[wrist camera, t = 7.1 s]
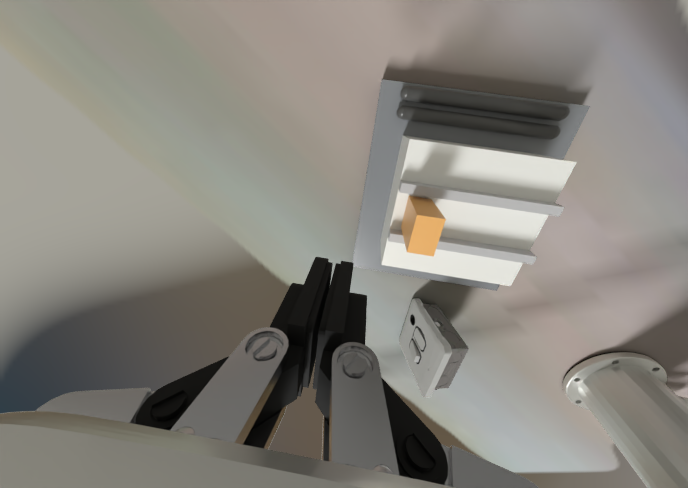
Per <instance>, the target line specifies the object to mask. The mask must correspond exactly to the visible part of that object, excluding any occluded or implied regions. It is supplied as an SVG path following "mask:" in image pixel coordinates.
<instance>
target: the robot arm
mask: <svg viewBox="0 0 688 488" xmlns="http://www.w3.org/2000/svg"><path fill="white" fill-rule="evenodd" d="M353 264H354V263H351V262H345V261H341V264H337V263H336V266H335V270H334V273H333V277H332V281H331V285H330V280H331V272H332V263H330V262H328V259H326V258H320V257H316V258H315V260H314V262H313V264H312V267H311V269H310V271H309V274H308V276H307V279H306V281H305V283H304V285H302V284H296V283H292V284H291V286H290V288H289V290H288V292H287V294H286V296H285V298H284V300H283V302H282V304H281V306H280V308H279V310H278V312H277V314H276V315H275V318H274V319H273V322H272V324H271V326H270V327H268V328H260V329H257V330H255V331H253V332H251V333H249V334H248V335H247V336H246V337H245V338H244V339H243V340H242V342H241V343H240V344H239V346H238V347H237V348H236V349H235V350H234V352H233V353H232V354H231V355H230V356H229V357H227V358H224V359H222V360H220V361H218V362H215V363H213V364H211V365H209V366H207V367H204V368H202V369H200V370H198V371H196V372H194V373H191V374H189V375H187V376H185V377H182V378H180V379H178V380H176V381H174V382H171V383H169V384H167V385H165V386H163V387H162V388H160V389H158V390H157V391H150V388H134V389H115V390H95V391H77V392H72V393H67V394H64V395H61V396H59V397H57V398H54V399H52V400H51V401H49V402H47V403H46V404H44V405H43V406H41V407H40V408H38V409H37V410H36V411H24V412H10V413H2V414H0V488H538V487H537V486H536V485H535V484H534V483H532V482H531V481H529V480H528V479H526V478H524V477H522V476H520V475H518V474H516V473H513V472H511V471H509V470H507V469H504V468H502V467H500V466H498V465H496V464H493V463H491V462H489V461H487V460H484V459H482V458H480V457H478V456H475V455H473V454H471V453H469V452H467V451H464V450H462V449H460V448H457V447H455V446H453V445H452V446H451V447H450V448H449V447H446V446H444V445H442V444H441V443H440V442H439V441H438V439H437V438H436V437H435V435H434V434H433V433H432V432H431V431H430V430H429V429H428V428H427V427H426V426H425V425H424V423H423V422H422V421H421V420H420V419H419V418H418V417H417V416H416V415H415V414H414V413H413V411H412V410H411V409H410V408H409V407H408V406H407V405H406V404H405V403H404V402H403V401H402V400H401V398H400V397H399V396H398V395H397V394H396V393H395V392H394V391H393V390H392V389H391V387H390V386H389V385H388V384H387V383H386V382H385V381H384V380H383V379H382V378H381V373H380V367H379V362H378V359H377V356H376V355H375V354H374V352H373V351H372V350H371V349H370V348H369V347H367V346H365V332H366V306H367V295H362V294H356V293H350V285H351V278H352V271H353ZM315 359H316V362H315ZM314 363H315V372H314V381H313V389H317V392H316V401H315V403H316V404H317V406H318V407H319V409H320V410H321V412H322V414H323V415H324V417H323V438H322V460H318V459H314V458H308V457H303V456H298V455H293V454H288V453H283V452H278V451H273V450H268V449H269V446H270V444H271V442H272V440H273V438H274V435H275V433H276V431H277V429H278V426H279V424H280V422H281V420H282V418H283V416H284V413H285V411H286V407H287V405H288V404H290V403H291V402H293V401H294V400H296V399H297V396H301V393H302V389H303V387H307V388H308V387H309V383H310V379H311V375H312V371H313V367H314ZM666 382H667V374H666V371H665V370H664V368H663V367H662V366H661V365H659V364H658V363H657V362H656V361H655V360H653V359H652V358H650V357H648V356H645V355H642V354H637V353H630V352H617V353H608V354H603V355H599V356H596V357H592V358H590V359H588V360H585V361H583V362H581V363H580V364H578V365H576V366H575V367H574V368H573V369H571V370H570V371H569V372H568V374H567V375H566V377H565V378H564V381H563V391H564V393H565V394H566V396H567V397H568V398H569V400H570V401H571V402H572V403H573V404H575V405H577V406H579V407H581V408H584V409H587V410H590V411H591V412H592V414H593V415H594V416H595V418H596V419H597V420H598V422H599V423H600V424H601V426H602V427H603V428H604V430H605V431H606V432H607V434H608V435H609V436H610V438H611V439H612V441H613V442H614V443H615V445H616V446H617V447H618V449H619V450H620V451H621V453H622V454H623V455H624V456H625V458H626V459H627V461H628V462H629V463H630V465H631V466H632V467H633V469H634V470H635V471H636V473H637V474H638V476H639V477H640V478H641V480H642V481H643V482H644V484H645V485H646V486H647V488H688V398H685V397H679V396H678V395H676V394H675V393H674V392H673V391H672V390H671V389H670V388H669V387H668V386H666Z"/></svg>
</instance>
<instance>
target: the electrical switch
mask: <svg viewBox="0 0 688 488" xmlns="http://www.w3.org/2000/svg"><path fill="white" fill-rule="evenodd" d="M436 319H438V320H436ZM439 322H440V323H441V324H442V325H443V326H440V324H439ZM459 340H460V341H459ZM399 344H400V347H401V349H402V351H403V354H404V356H405V358H406V360H407V363H408V365H409V367H410V369H411V372H412V374H413V376H414V378H415V381H416V383H417V385H418V387H419V390H420V392H421V394H422V396H423V397H431V395H432V393H433V391H434V390H437V389H439V388H449V386H450V384H451V382H452V380H453V378H454V376H455V374H456V372H457V370H458V368H459V366H460V364H461V363H462V361H463V359H464V357H465V355H466V353H467V351H468V347H467V345H466V344H465V342H464V341H463V340H462V338H461V337H460V336H459V334H458V333H457V331H456V330H455V329H454V327H453V326H452V324H451V323H450V322H449V320H448V319H447V318H446V316H445V315H444V313H443V312H442V311H441V309H440V308H439V307H438V305H437V304H423V303H422V301H421V300H420V299H419V298H416V299H412V301H411V304H410V307H409V310H408V313H407V317H406V320H405V323H404V326H403V329H402V332H401V335H400V338H399Z"/></svg>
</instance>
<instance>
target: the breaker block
mask: <svg viewBox="0 0 688 488" xmlns="http://www.w3.org/2000/svg"><path fill="white" fill-rule="evenodd" d="M589 107H590V106H585V105H578V104H570V103H562V102H554V101H547V100H539V99H531V98H523V97H516V96H508V95H500V94H492V93H485V92H477V91H469V90H461V89H454V88H446V87H438V86H430V85H423V84H415V83H407V82H399V81H392V80H384V79H382V82H381V88H380V94H379V100H378V106H377V113H376V119H375V125H374V131H373V137H372V144H371V150H370V156H369V162H368V168H367V175H366V181H365V187H364V193H363V199H362V206H361V212H360V218H359V224H358V231H357V237H356V243H355V249H354V255H353V262H352V263H354V264H353V267H358V268H364V269H370V270H376V271H382V272H388V273H394V274H400V275H406V276H412V277H418V278H424V279H430V280H436V281H442V282H448V283H454V284H460V285H466V286H472V287H478V288H484V289H490V290H496V291H497V289H498V287H499V285H506V286H511V285H512V283H513V281H514V279H515V277H516V275H517V273H518V271H519V269H520V268H521V266H522V264H523V263H526V264H532V265H533V263H534V262H535V260H536V258H537V256H535V255H534V254H533V253H532V252H531V251H530V249H531V247H532V245H533V243H534V241H535V239H536V238H537V236H538V234H539V232H540V230H541V228H542V226H543V224H544V223H545V221H546V219H547V217H548V215H552V216H558V217H560V215H561V213H562V211H563V209H564V208H565V207H563V206H561V205H559V204H556V203H555V202H556V200H557V198H558V196H559V194H560V192H561V191H562V189H563V187H564V185H565V183H566V181H567V179H568V177H569V176H570V174H571V172H572V170H573V168H574V166H575V164H576V162H573V161H568V160H563V159H564V157H565V155H566V153H567V151H568V149H569V147H570V145H571V143H572V141H573V139H574V137H575V135H576V133H577V131H578V129H579V127H580V125H581V123H582V121H583V119H584V117H585V115H586V113H587V111H588V109H589ZM408 196H414V197H420V198H427V199H432V201H433V202H434V203H435V205H436V206H437V208H438V209H439V210H440V212H441V213H442V215H443V216H444V217H445V219H446V221H445V224H444V227H443V230H442V233H441V236H440V239H439V242H438V245H437V248H436V251H435V254H434V257H433V256H427V255H421V254H415V253H409V252H407V251H406V246H405V242H404V238H403V234H402V229H401V225H402V221H403V217H404V213H405V209H406V204H407V200H408Z"/></svg>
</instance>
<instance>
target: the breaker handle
mask: <svg viewBox="0 0 688 488" xmlns="http://www.w3.org/2000/svg"><path fill="white" fill-rule="evenodd" d="M445 221H446V219H445V217H444V216H443V215H442V213H441V212H440V210H439V209H438V208H437V206H436V205H435V203H434V202H433V201H432V199H427V198H420V197H414V196H408V200H407V204H406V209H405V213H404V217H403V221H402V225H401V229H402V234H403V238H404V242H405V246H406V251H407V252H409V253H415V254H421V255H427V256H433V257H434V254H435V251H436V248H437V245H438V242H439V239H440V236H441V233H442V230H443V227H444V224H445Z"/></svg>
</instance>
